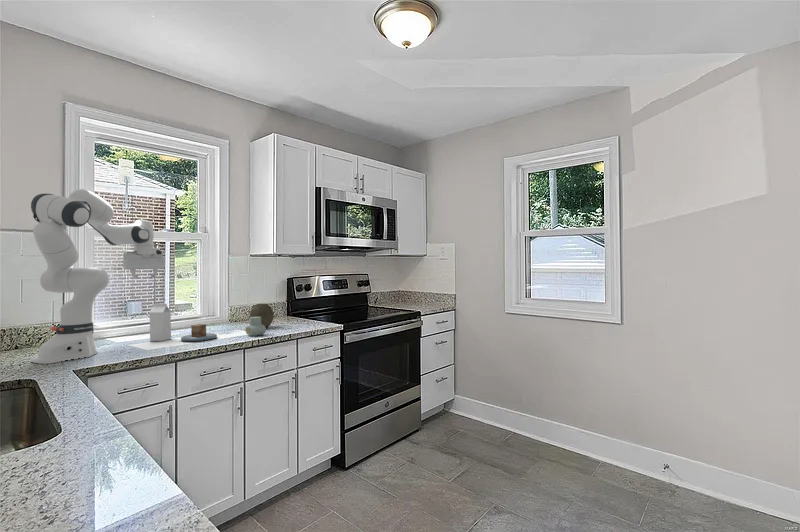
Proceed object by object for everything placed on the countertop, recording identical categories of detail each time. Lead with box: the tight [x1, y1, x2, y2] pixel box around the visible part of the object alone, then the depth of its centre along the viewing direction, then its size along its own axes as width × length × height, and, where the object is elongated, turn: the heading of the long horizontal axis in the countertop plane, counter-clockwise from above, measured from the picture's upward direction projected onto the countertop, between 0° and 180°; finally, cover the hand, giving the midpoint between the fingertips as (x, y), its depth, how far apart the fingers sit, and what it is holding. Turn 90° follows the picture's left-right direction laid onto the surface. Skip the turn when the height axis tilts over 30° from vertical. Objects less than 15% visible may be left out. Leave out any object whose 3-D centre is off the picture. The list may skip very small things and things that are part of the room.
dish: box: [180, 332, 217, 342], centre depth 223 cm, size 17×17×2 cm
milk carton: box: [148, 303, 172, 342], centre depth 223 cm, size 7×7×19 cm
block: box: [190, 323, 207, 337], centre depth 223 cm, size 5×5×6 cm
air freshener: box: [245, 316, 267, 337], centre depth 232 cm, size 11×8×10 cm
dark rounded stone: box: [249, 303, 275, 329], centre depth 257 cm, size 14×14×15 cm
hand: (144, 277), depth 220 cm, fingers open, 8 cm apart
